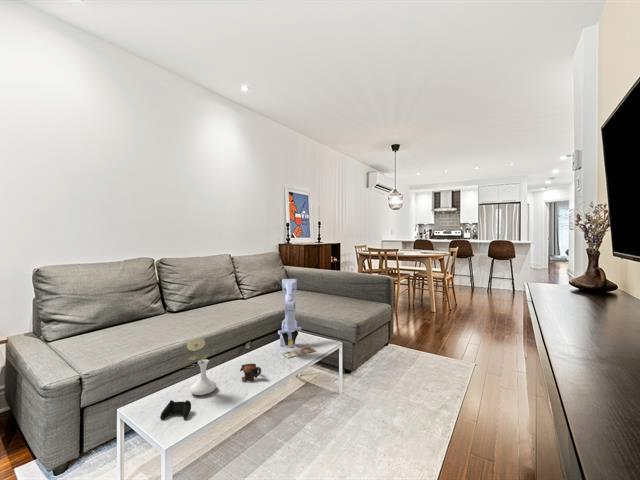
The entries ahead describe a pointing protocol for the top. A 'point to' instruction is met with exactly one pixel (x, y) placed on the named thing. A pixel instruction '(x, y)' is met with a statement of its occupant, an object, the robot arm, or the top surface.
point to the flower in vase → (203, 383)
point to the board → (298, 352)
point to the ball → (290, 342)
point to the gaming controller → (177, 409)
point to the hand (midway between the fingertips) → (289, 344)
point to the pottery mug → (250, 372)
